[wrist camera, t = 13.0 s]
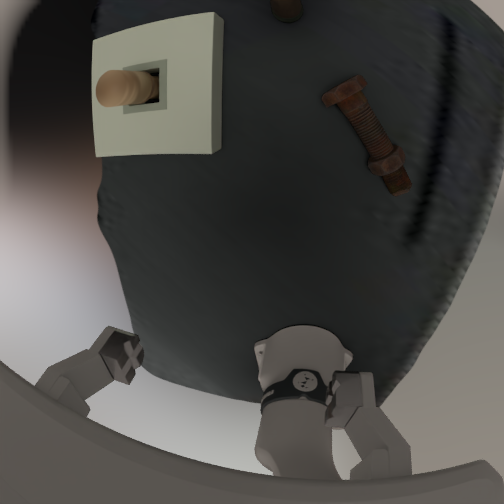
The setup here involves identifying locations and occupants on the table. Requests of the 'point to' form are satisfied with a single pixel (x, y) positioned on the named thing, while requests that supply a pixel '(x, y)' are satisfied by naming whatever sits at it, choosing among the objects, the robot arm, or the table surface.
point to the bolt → (371, 134)
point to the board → (163, 88)
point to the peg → (126, 88)
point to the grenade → (287, 10)
